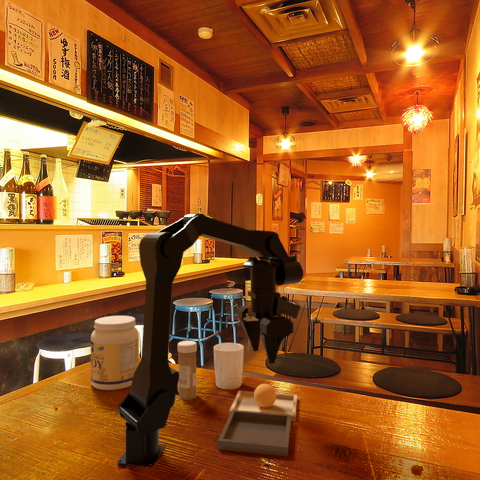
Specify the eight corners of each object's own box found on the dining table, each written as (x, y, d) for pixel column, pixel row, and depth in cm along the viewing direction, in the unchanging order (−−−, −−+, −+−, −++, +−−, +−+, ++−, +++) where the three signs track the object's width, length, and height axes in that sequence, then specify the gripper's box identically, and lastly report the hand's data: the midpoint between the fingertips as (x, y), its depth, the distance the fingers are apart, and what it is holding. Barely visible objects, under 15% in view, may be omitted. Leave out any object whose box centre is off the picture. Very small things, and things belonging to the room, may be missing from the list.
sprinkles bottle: (200, 398, 92) (200, 342, 92) (185, 404, 89) (185, 346, 89) (189, 392, 96) (189, 338, 95) (174, 398, 92) (173, 342, 92)
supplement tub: (81, 384, 101) (81, 320, 101) (120, 371, 111) (120, 313, 111) (108, 396, 94) (108, 327, 94) (148, 381, 103) (148, 318, 103)
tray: (295, 423, 80) (295, 416, 80) (229, 418, 82) (229, 411, 82) (297, 401, 91) (297, 394, 91) (238, 396, 93) (238, 390, 93)
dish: (287, 459, 67) (287, 447, 67) (218, 452, 69) (218, 440, 69) (291, 425, 79) (291, 414, 79) (232, 420, 81) (232, 409, 81)
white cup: (245, 379, 104) (244, 342, 104) (242, 391, 96) (242, 351, 96) (216, 378, 105) (216, 342, 105) (211, 390, 97) (211, 350, 97)
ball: (275, 412, 84) (275, 390, 83) (252, 410, 84) (252, 388, 84) (277, 402, 88) (277, 381, 88) (255, 400, 89) (255, 379, 89)
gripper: (316, 291, 80) (316, 366, 80) (278, 281, 97) (278, 342, 98) (267, 294, 76) (267, 372, 76) (236, 283, 94) (236, 347, 94)
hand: (263, 356), depth 86 cm, fingers open, 9 cm apart
